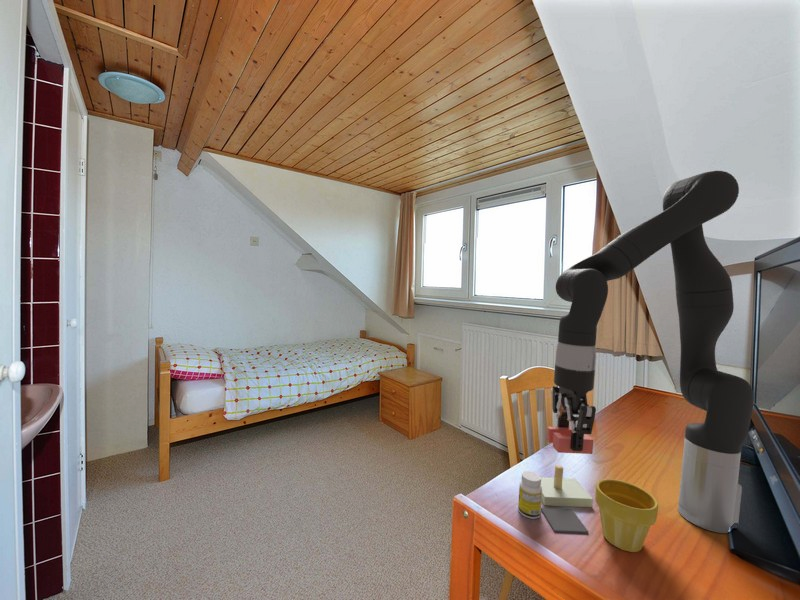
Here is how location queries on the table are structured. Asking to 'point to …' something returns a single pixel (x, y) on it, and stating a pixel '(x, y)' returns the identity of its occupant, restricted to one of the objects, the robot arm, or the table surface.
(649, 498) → the plant pot
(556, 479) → the stand
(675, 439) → the table surface
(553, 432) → the c link
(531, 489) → the supplement bottle
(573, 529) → the coaster
